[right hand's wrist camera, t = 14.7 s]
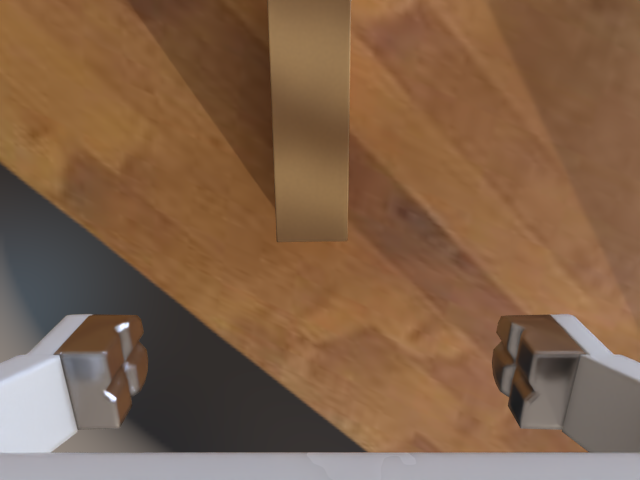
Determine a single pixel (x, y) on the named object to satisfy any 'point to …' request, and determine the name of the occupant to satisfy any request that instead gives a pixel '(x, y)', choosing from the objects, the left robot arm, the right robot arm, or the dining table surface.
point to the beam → (310, 117)
